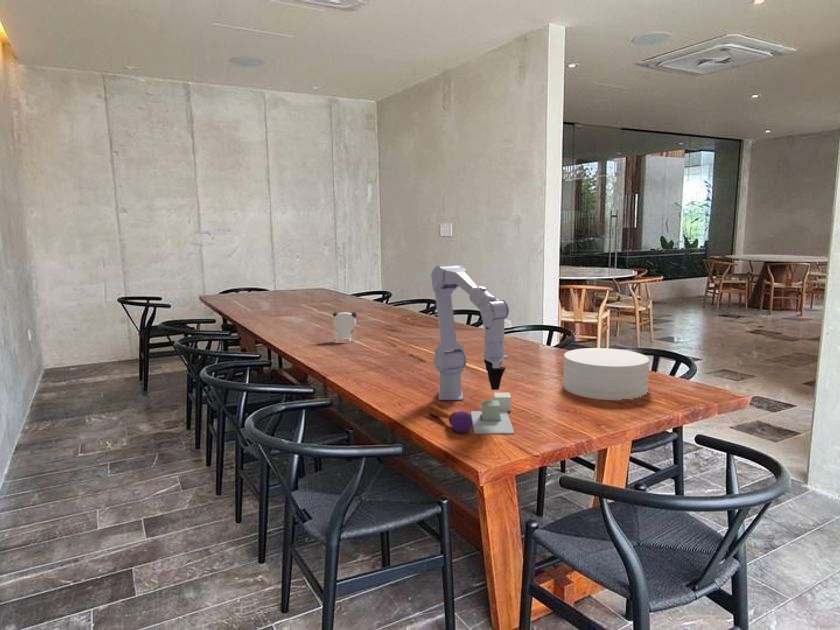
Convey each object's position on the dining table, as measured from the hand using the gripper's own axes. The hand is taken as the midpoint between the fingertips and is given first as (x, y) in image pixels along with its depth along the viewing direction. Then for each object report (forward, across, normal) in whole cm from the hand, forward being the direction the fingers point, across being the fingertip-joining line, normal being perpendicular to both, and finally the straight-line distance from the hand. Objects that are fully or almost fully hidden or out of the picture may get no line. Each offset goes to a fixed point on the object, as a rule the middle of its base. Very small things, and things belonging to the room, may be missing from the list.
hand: (493, 385), depth 166 cm
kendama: (+10, -7, +14) cm, 18 cm away
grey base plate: (+9, -6, +1) cm, 11 cm away
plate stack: (+10, +30, -41) cm, 52 cm away
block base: (+9, -3, +1) cm, 9 cm away
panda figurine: (+10, +112, +66) cm, 131 cm away
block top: (+10, +7, -3) cm, 12 cm away
